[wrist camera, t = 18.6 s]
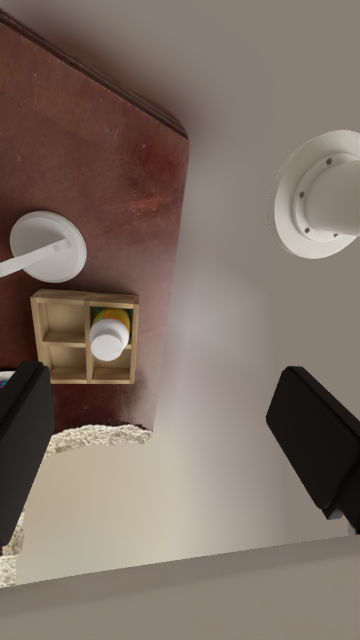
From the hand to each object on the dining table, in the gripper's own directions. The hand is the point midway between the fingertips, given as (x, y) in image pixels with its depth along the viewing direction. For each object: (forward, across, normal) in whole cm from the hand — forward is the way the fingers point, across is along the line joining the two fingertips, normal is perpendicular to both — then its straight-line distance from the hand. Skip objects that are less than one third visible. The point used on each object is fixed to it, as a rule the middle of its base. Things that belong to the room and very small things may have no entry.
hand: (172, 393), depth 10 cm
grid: (+30, +8, +14) cm, 34 cm away
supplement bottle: (+30, +5, +10) cm, 32 cm away
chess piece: (+31, +14, 0) cm, 34 cm away
